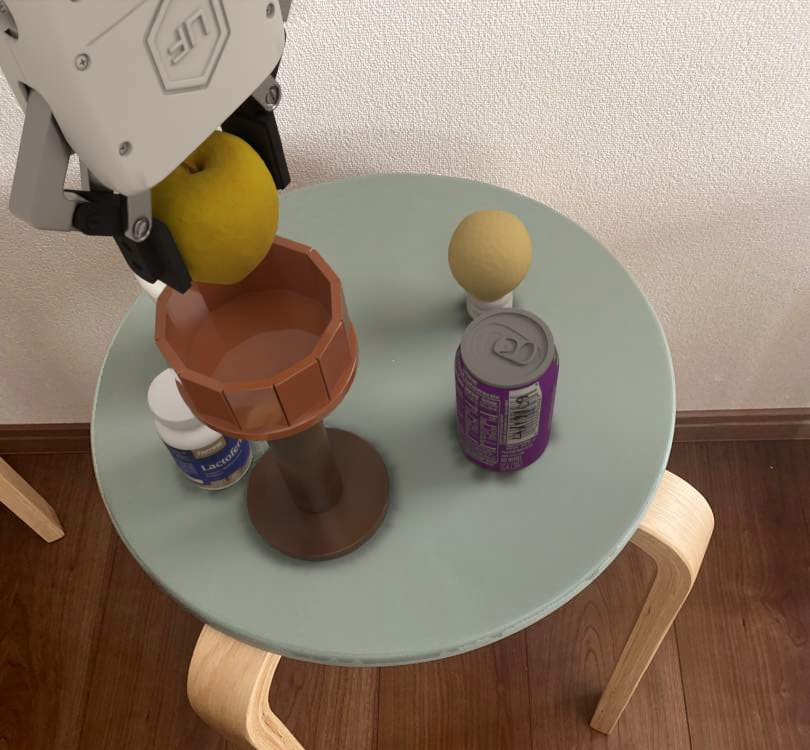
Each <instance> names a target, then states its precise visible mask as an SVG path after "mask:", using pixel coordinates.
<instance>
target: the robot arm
mask: <svg viewBox="0 0 810 750" xmlns="http://www.w3.org/2000/svg"><path fill="white" fill-rule="evenodd" d="M292 3H293V0H0V69H1V72H2V74H3V76H4V78H5V79H6V82H7V83H8V86H9V88H10V90H11V91H12V93H13V95H14V97H15V98H16V101H17V103H18V105H19V106H20V107H19V108H21V110H22V112H23V114H24V120H23V126H22V131H21V137H20V141H19V148H18V152H17V157H16V164H15V168H14V175H13V180H12V185H11V190H10V196H9V201H8V209H9V212H10V213H11V215H13V216H14V217H16V218H18V219H19V220H21V221H22V222H23V223H26V224H27V225H29V226H31V227H32V228H34V229H35V230H39V231H51V232H61V233H62V232H64V233H71V232H79V233H82V234H83V235H85V236H88V237H89V236H90V237H112V238H113V240H114V242H115V244H116V245H117V247H118V249H119V251H120V254H121V255H122V257H123V258H124V260H125V262H126V264H127V266H128V267H129V268H130V270H131V271H132V272H133V274H134V273H135V274H136V275H138V276H139V277H140V278H142V279H143V280H145V281H147V282H148V283H150V284H154V283H155V282H156V281H157V280H159V281H161V282H163V283H164V284H166V285H168V286H169V287H171V288H173V289H175V290H176V291H178V292H180V293H182V294H185V293H186V292H187V290H188V289H189V288H190V287H191V286H192V284H191V282H192V278H191V276H190V274H189V271H188V269H187V267H186V265H185V263H184V260H183V258H182V256H181V254H180V252H179V249H178V247H177V245H176V243H175V241H174V238H173V236H172V234H171V232H170V230H169V228H168V227H167V225H166V224H165V223H163V222H162V221H160V220H158V219H157V218H155V217H153V216H152V202H151V188H153V187H155V186H156V185H157V184H159V183H160V182H161V181H162V180H163V179H165V178H166V177H167V176H168V175H169V174H170V173H171V172H172V171H173V170H174V169H176V168H177V167H178V166H179V165H180V164H181V163H182V162H183V161H184V160H185V159H186V158H187V157H188V156H189V155H190V154H191V153H192V152H193V151H194V150H195V149H196V148H197V147H198V146H199V145H200V144H201V143H202V142H204V141H205V140H206V139H207V138H208V137H209V136H210V135H211V134H212V133H213V132H214V131H215V130H218V129H219V127H220V129H221V131H223V132H227V133H229V134H233V135H235V136H237V137H239V138H241V139H242V140H244V141H245V142H247V143H248V144H249V145H250V146H251V147H252V148H253V149H254V150H255V151H256V152H257V153H258V155H259V156H260V158H261V159H262V160H263V161H264V163H265V165H266V167H267V169H268V170H269V172H270V174H271V176H272V178H273V181H274V183H275V186H276V189H277V191H280V190H281V191H283V190H285V189H286V188H287V187H288V186H289V185H290V184H291V182H292V178H291V175H290V171H289V167H288V164H287V159H286V157H285V152H284V147H283V143H282V138H281V134H280V131H279V128H278V124H277V119H276V116H275V112H274V111H275V110H276V109H277V108H278V106H279V105H280V103H281V100H282V94H283V93H282V92H283V91H282V86H281V85H280V84H279V82H278V81H277V76H278V72H279V69H280V65H281V61H282V58H283V53H284V50H285V47H286V43H287V32H286V29H285V25H284V24H285V23H288V19H289V15H290V11H291V6H292ZM75 154H76V155H77V157H78V164H79V165H78V166H79V174H80V175H79V176H80V184H81V185H80V186H81V190H80V189H71V188H65V182H66V178H67V172H68V169H69V163H70V159H71V156H73V155H75ZM135 274H134V275H135Z"/></svg>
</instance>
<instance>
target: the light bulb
mask: <svg viewBox="0 0 810 750" xmlns="http://www.w3.org/2000/svg"><path fill="white" fill-rule="evenodd" d="M447 250H448V251H447V261H448V266H449V269H450V272H451V274H452V276H453V277H452V278H454V279H455V281H456V282H457V284H458V285H459V286H460V287H461V288H462V289H463V290H465V292H466V311H467V313H468V315H469V317H470V319H472V321H473V320H474V319H475V318H477V317H478V316H480V315H481V314H483V313H485V312H488V311H490V310H493V309H498V308H513V300H514V299H513V297H514V296H513V295H514V294H513V293H514V290H515V289H516V288H517V287H519V286H520V285H521V283H523V281H524V279H525V278H526V276H527V275H528V273H529V270H530V267H531V264H532V260H533V259H532V258H533V247H532V240H531V236H530V234H529V232H528V230H527V227H526V225H525V224H524V223H523V222H522V221H521V220H520V218H518V217H517V216H516V215H514V214H512V213H510V212H507V211H504V210H498V209H484V210H479V211H474V212H472V213H469V214H468V215H466V216H465V217H464V218H463V219H462V220H461V221H460V222H459V223H458V225H457V226H456V227H455V229H454V230H453V233H452V235H451V237H450V241H449V244H448V249H447Z"/></svg>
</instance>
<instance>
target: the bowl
mask: <svg viewBox="0 0 810 750" xmlns="http://www.w3.org/2000/svg"><path fill="white" fill-rule="evenodd" d="M191 284H192V286H191V287H190V288H189V289H188V290H187V292H186V293H185V294H182V293H180V292H178V291H176V290H175V289H173V288H171V287H169V286H168V285H166V287H165V288H164V289H163V291H162V292H161V294H160V295H159V297H158V298H157V299H158V301H156V306H155V319H154V336H153V337H154V339H153V340H154V342H155V345H156V347H157V349H158V350H159V352H160V354H161V356H162V357H163V360H164V361H165V363H166V364H167V366H168V368H170V370H171V372H172V373H173V375H174V377H175V382H176V385H177V388H178V391H179V393H180V395H181V397H182V399H183V400H184V402H185V404H186V406H187V407H188V409H189V410H190V411H191V413H192V414H193V415H194V416H195V417H196V418H197V419H198V420H199V421H200V422H201V423H203V424H204V425H206V426H207V427H208V428H210V429H212V430H214V431H216V432H218V433H220V434H222V435H225V436H228V437H231V438H235V439H240V440H248V441H249V442H265V441H266V442H267V441H269V440H275V439H281V438H285V437H288V436H292V435H295V434H297V433H300V432H302V431H305V430H306V429H308V428H310V427H312V426H314V425H316V424H317V423H318V422H320V421H321V420H323V421H324V419H326V418H327V417H328V416H329V415H330V414H331V413H332V412H334V411H335V410H336V408H338V406H339V405H340V404H341V403H342V402H343V400H344V398H346V396H347V394H348V393H349V391H350V389H351V387H352V385H353V384H354V381H355V377H356V375H357V372H358V366H359V359H360V349H359V342H358V336H357V333H356V329H355V325H354V323H353V321H352V319H351V317H350V315H349V310H348V305H347V302H346V298H345V293H344V288H343V283H342V281H341V278H340V276H338V274H337V273H336V272H335V270H334V269H333V268H332V267H331V266H330V265H329V263H327V261H326V260H325V258H324V257H323V256H322V255H321V254H320V252H318V250H317V249H316V248H314V247H312V246H309V245H307V244H304V243H301V242H298V241H295V240H292V239H289V238H286V237H284V236H280V235H277V234H276V235H275V237H274V240H273V242H272V245H271V247H270V249H269V251H268V253H267V254H266V256H265V257H264V259H263V260H262V261H261V262H260V263H259V265H258V266H257V267H256V268H255V269H254V270H253V271H251V272H250V273H249V274H248V275H247V276H246V277H245V278H244V279H242V280H241V281H239V282H237V283H235V284H227V285H225V284H216V283H206V282H198V281H194V280H193V279H192V282H191Z"/></svg>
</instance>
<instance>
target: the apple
mask: <svg viewBox="0 0 810 750" xmlns="http://www.w3.org/2000/svg"><path fill="white" fill-rule="evenodd" d="M151 202H152V216H153V217H155V218H157V219H158V220H160V221H162V222H163V223H165V224H166V225H167V227H168V228H169V230H170V232H171V234H172V236H173V238H174V241H175V243H176V245H177V247H178V249H179V252H180V254H181V256H182V258H183V260H184V263H185V265H186V267H187V269H188V271H189V274H190V276H191V278H192V279H193V280H194V281H198V282H206V283H216V284H225V285H227V284H235V283H237V282H239V281H241V280H242V279H244V278H245V277H246V276H247V275H248V274H249V273H250V272H251V271H253V270H254V269H255V268H256V267H257V266H258V265H259V263H260V262H261V261H262V260H263V259H264V257H265V256H266V254H267V253H268V251H269V249H270V247H271V245H272V242H273V240H274V237H275V235H277V232H278V226H279V217H280V202H279V194H278V190H277V189H276V186H275V183H274V181H273V178H272V176H271V174H270V172H269V170H268V169H267V167H266V165H265V163H264V161H263V160H262V159H261V158H260V156H259V155H258V153H257V152H256V151H255V150H254V149H253V148H252V147H251V146H250V145H249V144H248V143H247V142H245V141H244V140H242V139H241V138H239V137H237V136H235V135H233V134H229V133H227V132H223V131H222V130H218V129H216V130H215V131H214V132H213V133H212V134H211V135H210V136H209V137H208V138H207V139H206V140H205V141H204V142H202V143H201V144H200V145H199V146H198V147H197V148H196V149H195V150H194V151H193V152H192V153H191V154H190V155H189V156H188V157H187V158H186V159H185V160H184V161H183V162H182V163H181V164H180V165H179V166H178V167H177V168H176V169H174V170H173V171H172V172H171V173H170V174H169V175H168V176H167V177H166V178H165V179H163V180H162V181H161V182H160V183H159V184H157V185H156V186H155V187H153V188H151Z"/></svg>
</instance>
